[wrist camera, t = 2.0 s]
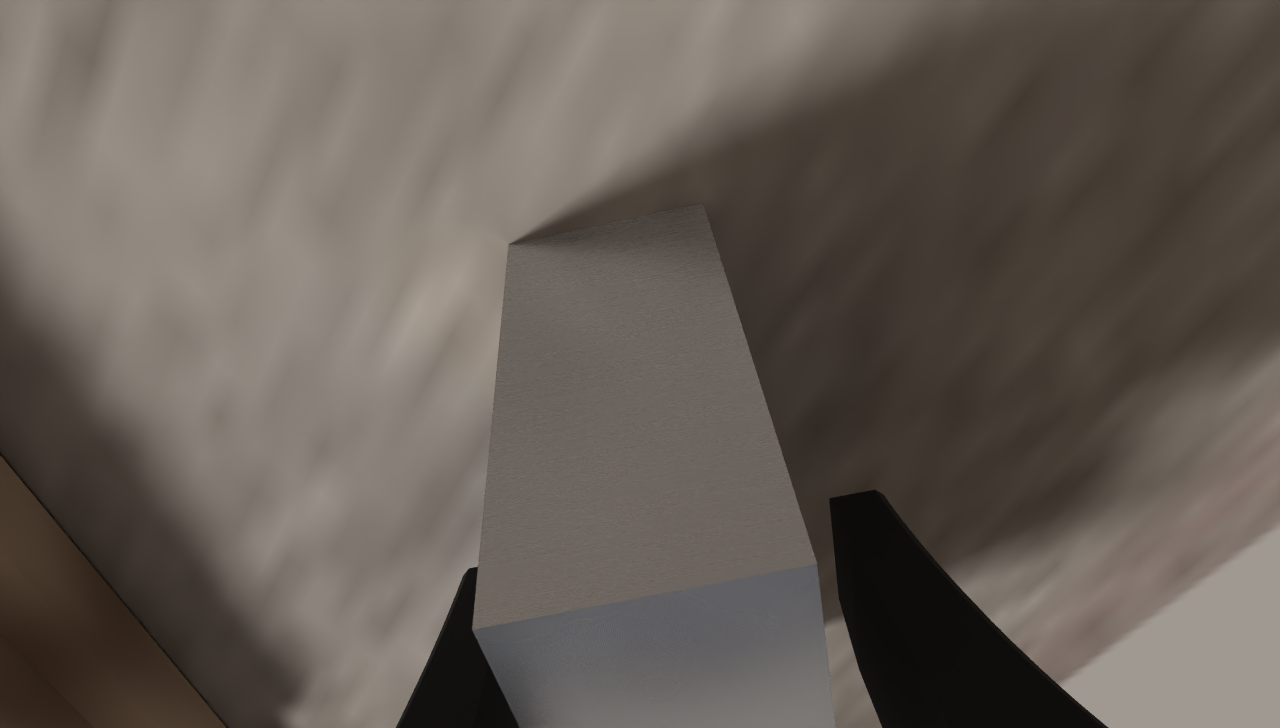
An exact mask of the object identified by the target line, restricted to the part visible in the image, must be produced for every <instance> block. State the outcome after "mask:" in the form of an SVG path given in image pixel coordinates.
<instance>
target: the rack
mask: <svg viewBox="0 0 1280 728" xmlns="http://www.w3.org/2000/svg"><path fill="white" fill-rule="evenodd" d="M0 728H226V727H225V726H224V724H223V723H222V722H221V721H220V720H219V718H218V717H217V716H216V715H215V714H214V712H213V711H212V710H211V709H210V707H209V706H208V705H207V704H206V703H205V701H204V700H203V699H202V698H201V697H200V695H199V694H198V693H197V692H196V691H195V689H194V688H193V687H192V686H191V685H190V683H189V682H188V681H187V680H186V679H185V677H184V676H183V675H182V674H181V673H180V671H179V670H178V669H177V668H176V667H175V665H174V664H173V663H172V662H171V660H170V659H169V658H168V657H167V656H166V654H165V653H164V652H163V651H162V650H161V648H160V647H159V646H158V645H157V644H156V642H155V641H154V640H153V639H152V638H151V636H150V635H149V634H148V633H147V632H146V630H145V629H144V628H143V627H142V626H141V624H140V623H139V622H138V621H137V620H136V618H135V617H134V616H133V615H132V613H131V612H130V611H129V610H128V609H127V607H126V606H125V605H124V604H123V603H122V601H121V600H120V599H119V598H118V597H117V595H116V594H115V593H114V592H113V591H112V589H111V588H110V587H109V586H108V585H107V583H106V582H105V581H104V580H103V579H102V577H101V576H100V575H99V574H98V573H97V571H96V570H95V569H94V568H93V566H92V565H91V564H90V563H89V562H88V560H87V559H86V558H85V557H84V556H83V554H82V553H81V552H80V551H79V550H78V548H77V547H76V546H75V545H74V544H73V542H72V541H71V540H70V539H69V538H68V536H67V535H66V534H65V533H64V532H63V530H62V529H61V528H60V527H59V526H58V524H57V523H56V522H55V521H54V519H53V518H52V517H51V516H50V515H49V513H48V512H47V511H46V510H45V509H44V507H43V506H42V505H41V504H40V503H39V501H38V500H37V499H36V498H35V497H34V495H33V494H32V493H31V492H30V491H29V489H28V488H27V487H26V486H25V485H24V483H23V482H22V481H21V480H20V479H19V477H18V476H17V475H16V474H15V472H14V471H13V470H12V469H11V468H10V466H9V465H8V464H7V463H6V462H5V460H4V459H3V458H2V457H1V456H0Z"/></svg>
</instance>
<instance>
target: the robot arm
mask: <svg viewBox="0 0 1280 728" xmlns="http://www.w3.org/2000/svg"><path fill="white" fill-rule="evenodd" d="M829 500H830V510H831V521H832V531H833V542H834V552H835V563H836V573H837V584H838V594H839V600H840V604H841V607H842V611H843V614H844V618H845V622H846V625H847V629H848V632H849V636H850V639H851V643H852V646H853V649H854V653H855V656H856V660H857V663H858V667H859V670H860V672H861V675H862V678H863V680H864V683H865V685H866V688H867V690H868V693H869V695H870V698H871V700H872V703H873V705H874V708H875V710H876V713H877V715H878V718H879V720H880V723H881V725H882V728H1108V727H1107V726H1105V725H1104V724H1103V723H1102V722H1101V721H1100V720H1098V719H1097V718H1096V717H1095V716H1094V715H1092V714H1091V713H1090V712H1089V711H1088V710H1086V709H1085V708H1084V707H1083V706H1082V705H1081V704H1079V703H1078V702H1077V701H1076V700H1075V699H1074V698H1072V697H1071V696H1070V695H1069V694H1068V693H1067V692H1066V691H1065V690H1063V689H1062V688H1061V687H1060V686H1059V685H1058V684H1057V683H1056V682H1055V681H1053V680H1052V679H1051V678H1050V677H1049V676H1048V675H1047V674H1046V673H1045V672H1044V671H1042V670H1041V669H1040V668H1039V667H1038V666H1037V665H1036V664H1035V663H1034V662H1033V661H1032V660H1031V659H1030V658H1029V657H1028V656H1027V655H1026V654H1025V653H1023V652H1022V651H1021V650H1020V649H1019V648H1018V647H1017V646H1016V645H1015V644H1014V643H1013V642H1012V641H1011V640H1010V639H1009V638H1008V637H1007V636H1006V635H1005V634H1004V633H1003V632H1002V631H1001V630H1000V629H999V628H998V627H997V626H996V625H995V624H994V623H993V622H992V621H991V620H990V619H989V618H988V617H987V616H986V615H985V614H984V613H983V612H982V611H981V610H980V609H979V607H978V606H977V605H976V604H975V603H974V602H973V601H972V600H971V599H970V598H969V597H968V596H967V595H966V594H965V593H964V592H963V591H962V590H961V588H960V587H959V586H958V585H957V584H956V583H955V582H954V581H953V580H952V579H951V578H950V576H949V575H948V574H947V573H946V572H945V571H944V570H943V569H942V568H941V566H940V565H939V564H938V563H937V562H936V561H935V559H934V558H933V557H932V556H931V555H930V554H929V552H928V551H927V550H926V549H925V548H924V547H923V545H922V544H921V543H920V542H919V541H918V539H917V538H916V537H915V536H914V534H913V533H912V532H911V531H910V529H909V528H908V527H907V526H906V524H905V523H904V522H903V521H902V519H901V518H900V517H899V515H898V514H897V513H896V511H895V510H894V509H893V507H892V506H891V505H890V503H889V502H888V500H887V499H886V497H885V496H884V495H883V494H882V493H880V492H878V491H876V490H871V491H866V492H860V493H855V494H850V495H845V496H840V497H835V498H830V499H829ZM477 573H478V567H474V568H469V569H468V570H467V572H466V573H465V574H464V576H463V578H462V580H461V583H460V585H459V588H458V591H457V593H456V596H455V598H454V601H453V603H452V605H451V608H450V610H449V613H448V615H447V618H446V620H445V622H444V625H443V627H442V630H441V632H440V634H439V637H438V639H437V641H436V643H435V646H434V648H433V650H432V652H431V655H430V657H429V659H428V662H427V664H426V666H425V668H424V670H423V672H422V674H421V677H420V679H419V681H418V683H417V685H416V687H415V689H414V691H413V693H412V695H411V698H410V700H409V702H408V704H407V706H406V708H405V710H404V712H403V714H402V716H401V718H400V720H399V722H398V724H397V726H396V728H520V727H519V725H518V723H517V721H516V719H515V717H514V715H513V713H512V711H511V709H510V707H509V705H508V703H507V701H506V698H505V696H504V694H503V692H502V690H501V688H500V686H499V684H498V682H497V680H496V678H495V676H494V674H493V672H492V670H491V668H490V665H489V663H488V661H487V659H486V657H485V655H484V653H483V651H482V649H481V647H480V645H479V643H478V641H477V639H476V637H475V635H474V633H473V630H472V626H473V615H474V605H475V594H476V583H477Z"/></svg>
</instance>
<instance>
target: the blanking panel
mask: <svg viewBox="0 0 1280 728" xmlns="http://www.w3.org/2000/svg"><path fill="white" fill-rule="evenodd" d="M472 630H473V633H474V635H475V637H476V639H477V641H478V643H479V645H480V647H481V649H482V651H483V653H484V655H485V657H486V659H487V661H488V663H489V665H490V668H491V670H492V672H493V674H494V676H495V678H496V680H497V682H498V684H499V686H500V688H501V690H502V692H503V694H504V696H505V698H506V701H507V703H508V705H509V707H510V709H511V711H512V713H513V715H514V717H515V719H516V721H517V723H518V725H519V727H520V728H836V726H835V717H834V708H833V699H832V691H831V682H830V673H829V664H828V655H827V646H826V637H825V629H824V620H823V611H822V602H821V593H820V584H819V576H818V567H817V562H816V558H815V555H814V552H813V549H812V546H811V543H810V540H809V536H808V533H807V530H806V527H805V524H804V521H803V517H802V514H801V511H800V508H799V505H798V502H797V498H796V495H795V492H794V489H793V486H792V483H791V479H790V476H789V473H788V470H787V467H786V464H785V460H784V457H783V454H782V451H781V448H780V445H779V442H778V438H777V435H776V432H775V429H774V426H773V423H772V419H771V416H770V413H769V410H768V407H767V404H766V400H765V397H764V394H763V391H762V388H761V385H760V381H759V378H758V375H757V372H756V369H755V366H754V363H753V359H752V356H751V353H750V350H749V347H748V344H747V340H746V337H745V334H744V331H743V328H742V325H741V321H740V318H739V315H738V312H737V309H736V306H735V302H734V299H733V296H732V293H731V290H730V287H729V284H728V280H727V277H726V274H725V271H724V268H723V265H722V261H721V258H720V255H719V252H718V249H717V246H716V242H715V239H714V236H713V233H712V230H711V227H710V223H709V220H708V217H707V214H706V211H705V208H704V205H703V203H702V204H697V205H693V206H688V207H683V208H679V209H674V210H669V211H664V212H660V213H655V214H650V215H646V216H641V217H636V218H631V219H627V220H622V221H617V222H613V223H608V224H603V225H599V226H594V227H589V228H584V229H580V230H575V231H570V232H566V233H561V234H556V235H551V236H547V237H542V238H537V239H533V240H528V241H523V242H518V243H514V244H509V245H508V255H507V265H506V276H505V286H504V297H503V308H502V318H501V329H500V339H499V350H498V361H497V371H496V382H495V392H494V403H493V414H492V424H491V435H490V445H489V456H488V467H487V477H486V488H485V499H484V509H483V520H482V530H481V541H480V552H479V562H478V573H477V583H476V594H475V605H474V615H473V626H472Z"/></svg>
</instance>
